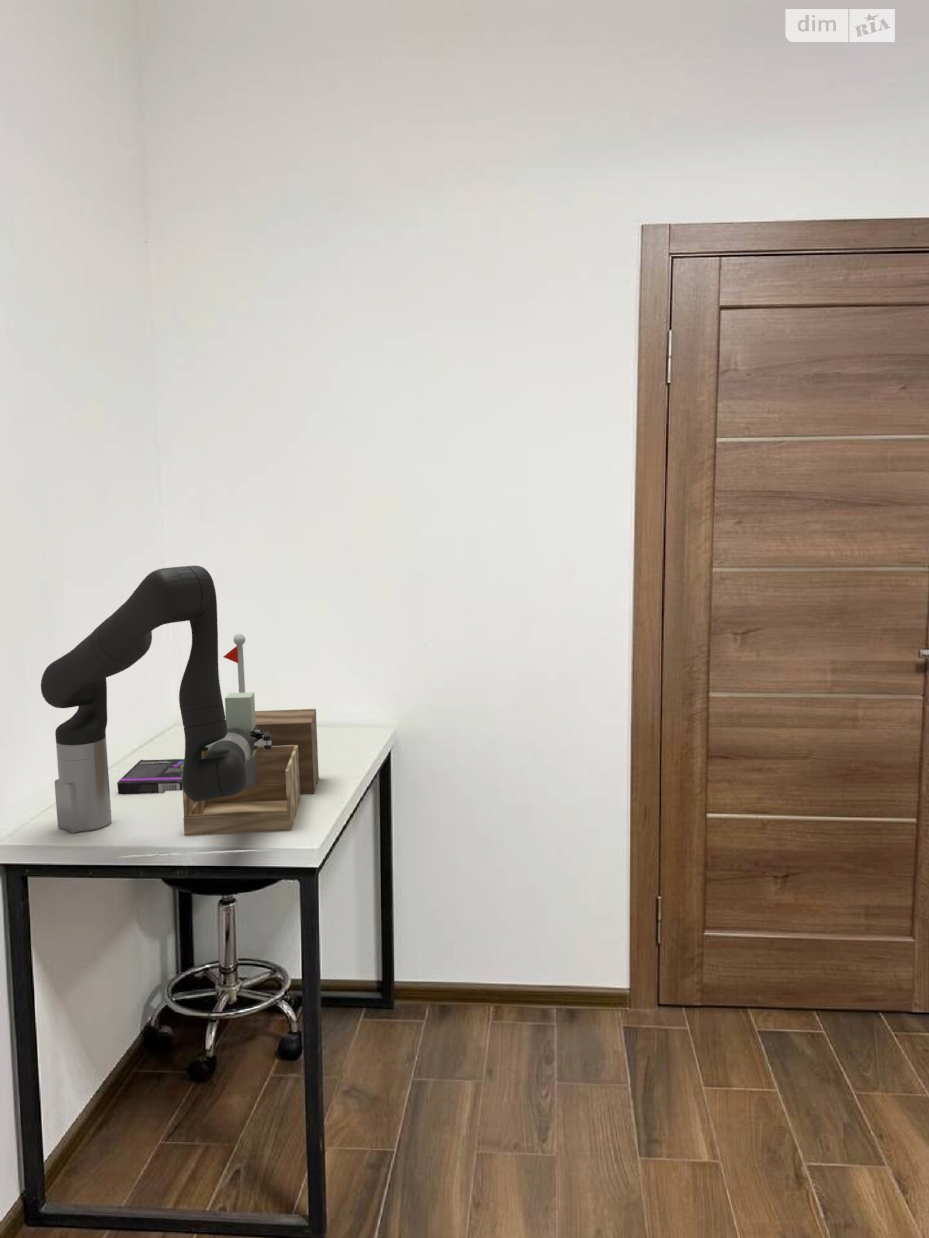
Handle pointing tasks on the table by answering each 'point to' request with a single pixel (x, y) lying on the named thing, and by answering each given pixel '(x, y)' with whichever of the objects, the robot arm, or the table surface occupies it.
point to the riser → (295, 739)
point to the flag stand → (238, 659)
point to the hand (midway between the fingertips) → (243, 731)
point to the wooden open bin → (252, 799)
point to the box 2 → (243, 725)
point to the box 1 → (152, 777)
